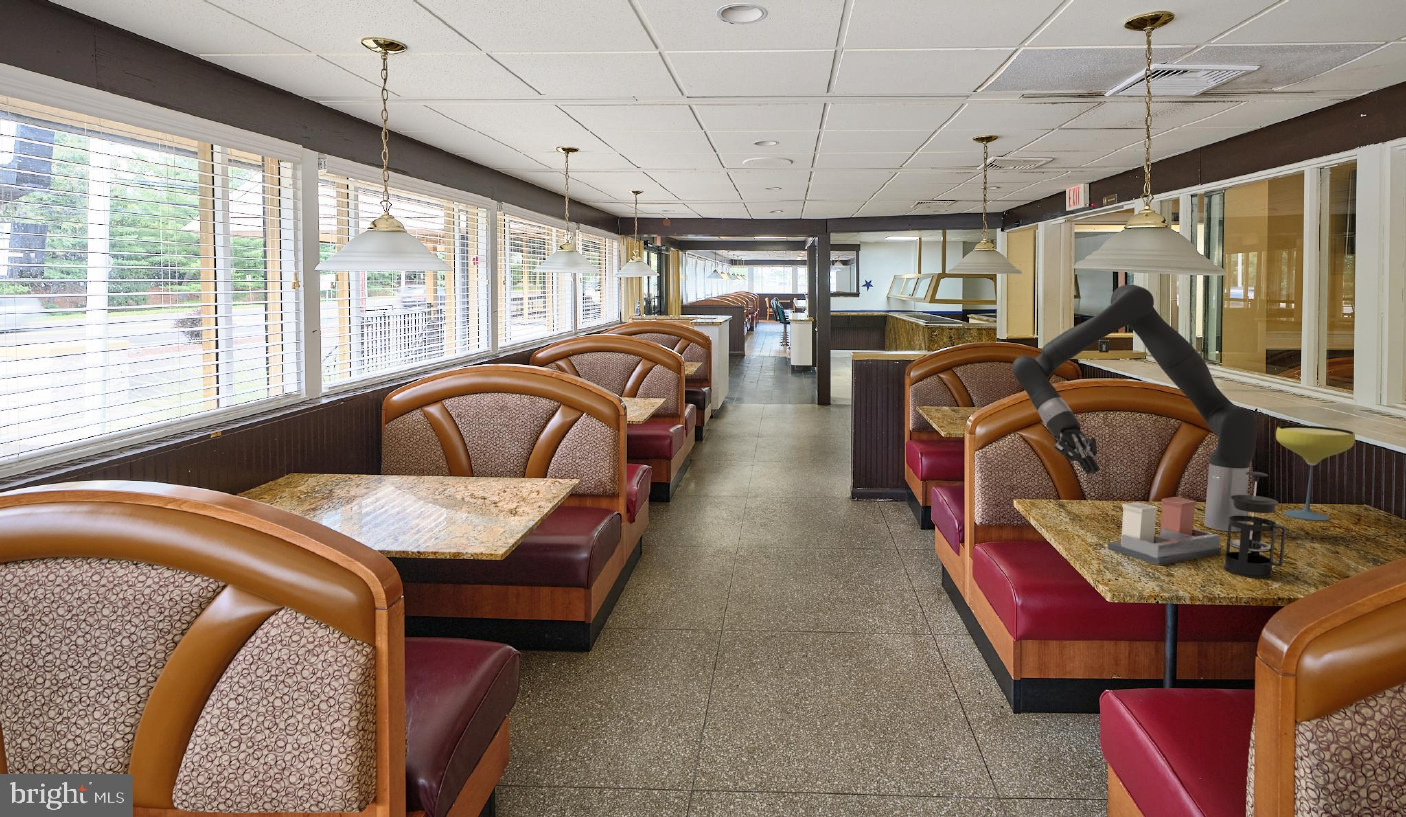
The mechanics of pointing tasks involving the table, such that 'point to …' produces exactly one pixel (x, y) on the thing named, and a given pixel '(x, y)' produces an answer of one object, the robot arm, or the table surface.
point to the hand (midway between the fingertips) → (1093, 471)
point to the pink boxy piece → (1178, 515)
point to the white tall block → (1139, 521)
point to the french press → (1252, 536)
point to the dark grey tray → (1169, 546)
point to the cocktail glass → (1313, 453)
